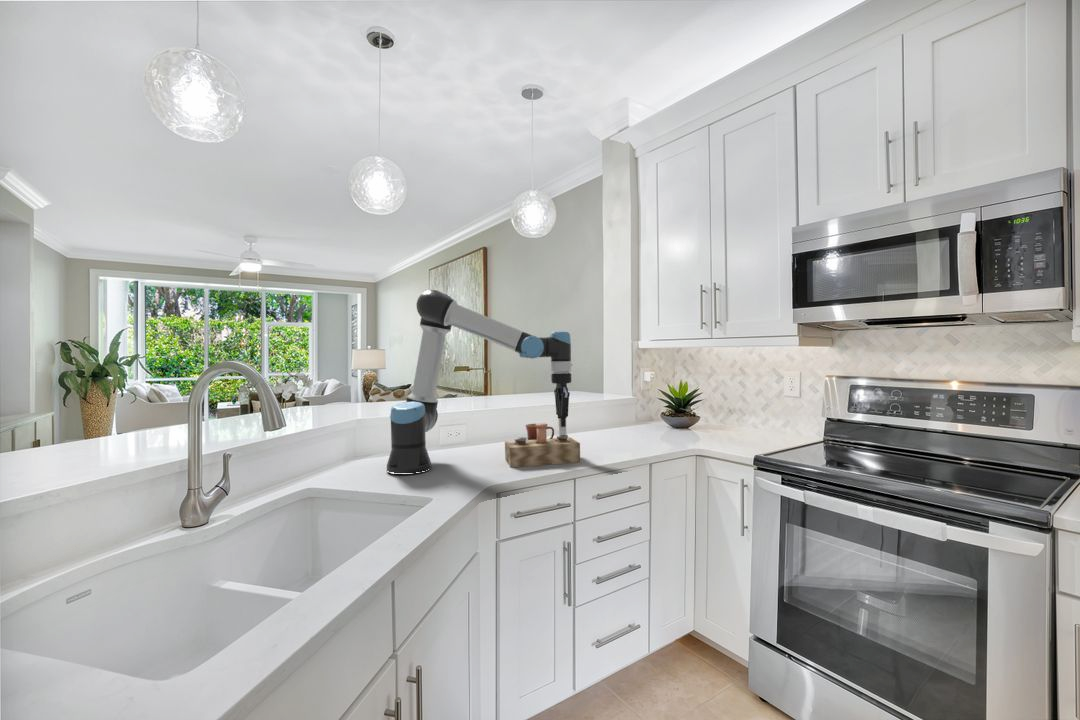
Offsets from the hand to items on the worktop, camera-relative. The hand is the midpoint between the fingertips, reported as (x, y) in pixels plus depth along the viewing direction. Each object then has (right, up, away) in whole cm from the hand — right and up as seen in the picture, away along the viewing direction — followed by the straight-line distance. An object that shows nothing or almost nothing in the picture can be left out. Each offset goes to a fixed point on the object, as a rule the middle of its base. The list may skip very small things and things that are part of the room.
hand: (562, 435), depth 177 cm
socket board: (-8, -10, -2) cm, 12 cm away
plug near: (-15, -9, -4) cm, 18 cm away
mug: (-8, -9, +19) cm, 23 cm away
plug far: (0, -9, 0) cm, 9 cm away
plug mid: (-8, -5, -2) cm, 9 cm away
